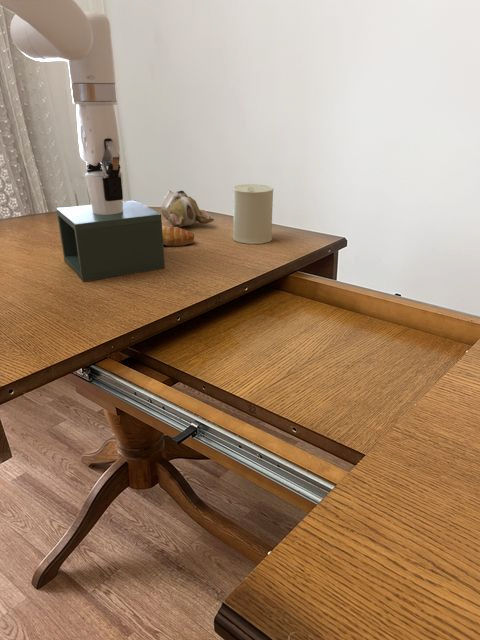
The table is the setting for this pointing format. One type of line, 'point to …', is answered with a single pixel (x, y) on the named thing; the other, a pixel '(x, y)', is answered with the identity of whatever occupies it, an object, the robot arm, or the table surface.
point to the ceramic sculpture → (183, 210)
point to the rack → (111, 240)
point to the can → (252, 213)
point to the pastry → (176, 236)
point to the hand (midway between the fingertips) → (105, 195)
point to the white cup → (101, 195)
